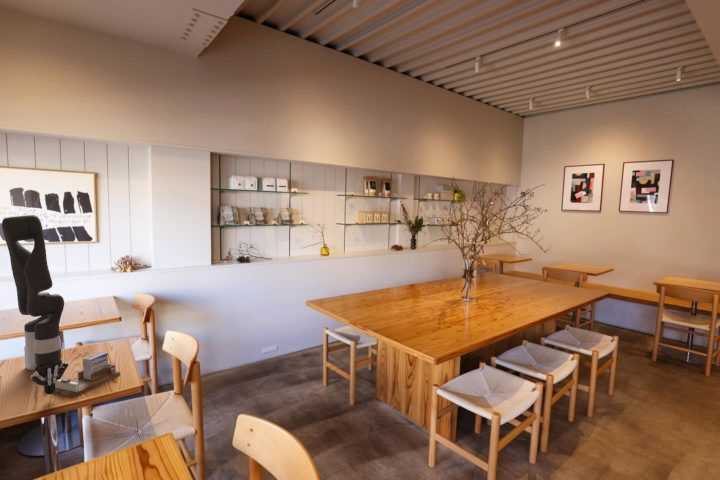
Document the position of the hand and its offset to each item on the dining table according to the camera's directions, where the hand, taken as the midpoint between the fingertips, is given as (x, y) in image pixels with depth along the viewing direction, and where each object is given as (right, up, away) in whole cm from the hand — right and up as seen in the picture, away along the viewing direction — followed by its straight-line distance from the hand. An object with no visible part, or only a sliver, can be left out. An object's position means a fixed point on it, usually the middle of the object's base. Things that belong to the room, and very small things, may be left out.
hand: (50, 393), depth 140 cm
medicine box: (+5, 0, +18) cm, 18 cm away
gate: (+1, -1, +6) cm, 6 cm away
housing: (+4, -1, +14) cm, 14 cm away
